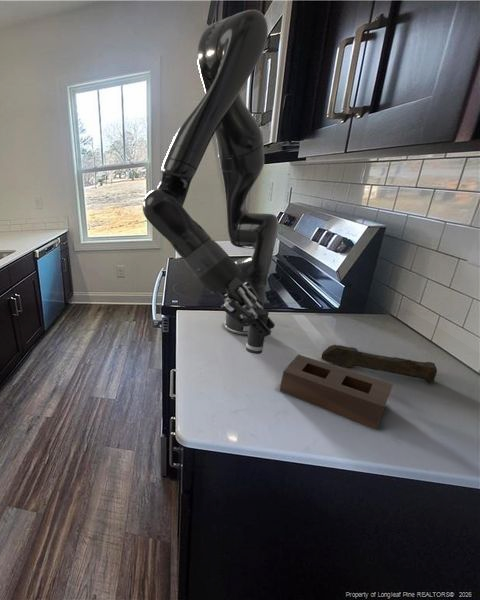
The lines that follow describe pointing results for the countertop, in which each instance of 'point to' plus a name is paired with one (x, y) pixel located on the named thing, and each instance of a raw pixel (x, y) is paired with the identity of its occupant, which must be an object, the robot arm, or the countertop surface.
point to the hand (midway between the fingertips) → (268, 331)
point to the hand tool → (379, 362)
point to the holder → (337, 389)
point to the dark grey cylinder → (253, 339)
